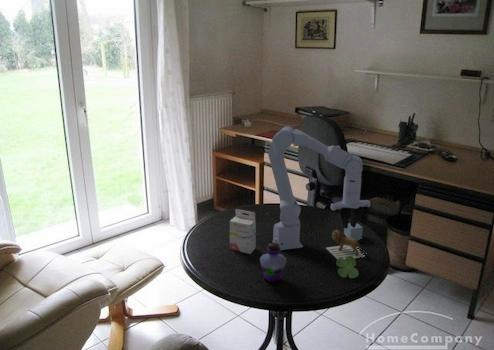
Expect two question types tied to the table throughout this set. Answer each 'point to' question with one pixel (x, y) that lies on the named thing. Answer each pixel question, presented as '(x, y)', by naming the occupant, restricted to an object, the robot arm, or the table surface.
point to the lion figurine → (345, 241)
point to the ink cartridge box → (243, 232)
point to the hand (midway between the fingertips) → (348, 226)
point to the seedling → (347, 267)
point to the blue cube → (353, 232)
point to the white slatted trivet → (344, 252)
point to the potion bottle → (273, 263)
